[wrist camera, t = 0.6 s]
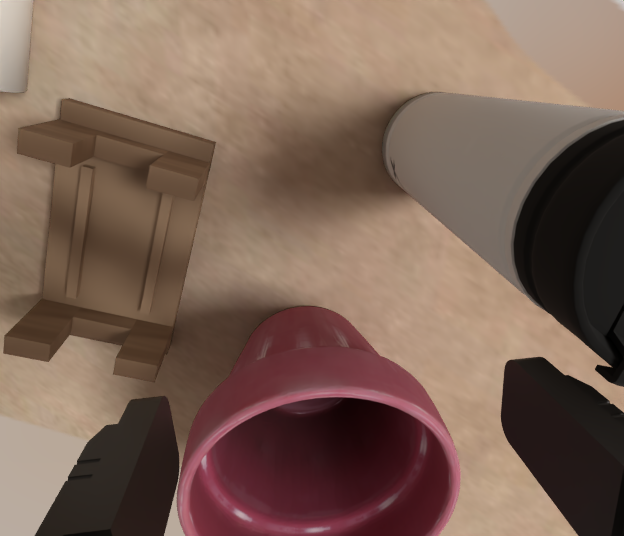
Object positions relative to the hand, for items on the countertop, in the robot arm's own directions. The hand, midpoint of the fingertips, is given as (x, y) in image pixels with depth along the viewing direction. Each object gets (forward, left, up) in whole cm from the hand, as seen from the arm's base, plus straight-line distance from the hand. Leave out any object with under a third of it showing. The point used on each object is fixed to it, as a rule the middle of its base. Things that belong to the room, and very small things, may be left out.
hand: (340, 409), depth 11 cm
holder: (+6, -10, -20) cm, 23 cm away
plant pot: (+12, +4, -20) cm, 24 cm away
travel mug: (-5, +7, -20) cm, 22 cm away
